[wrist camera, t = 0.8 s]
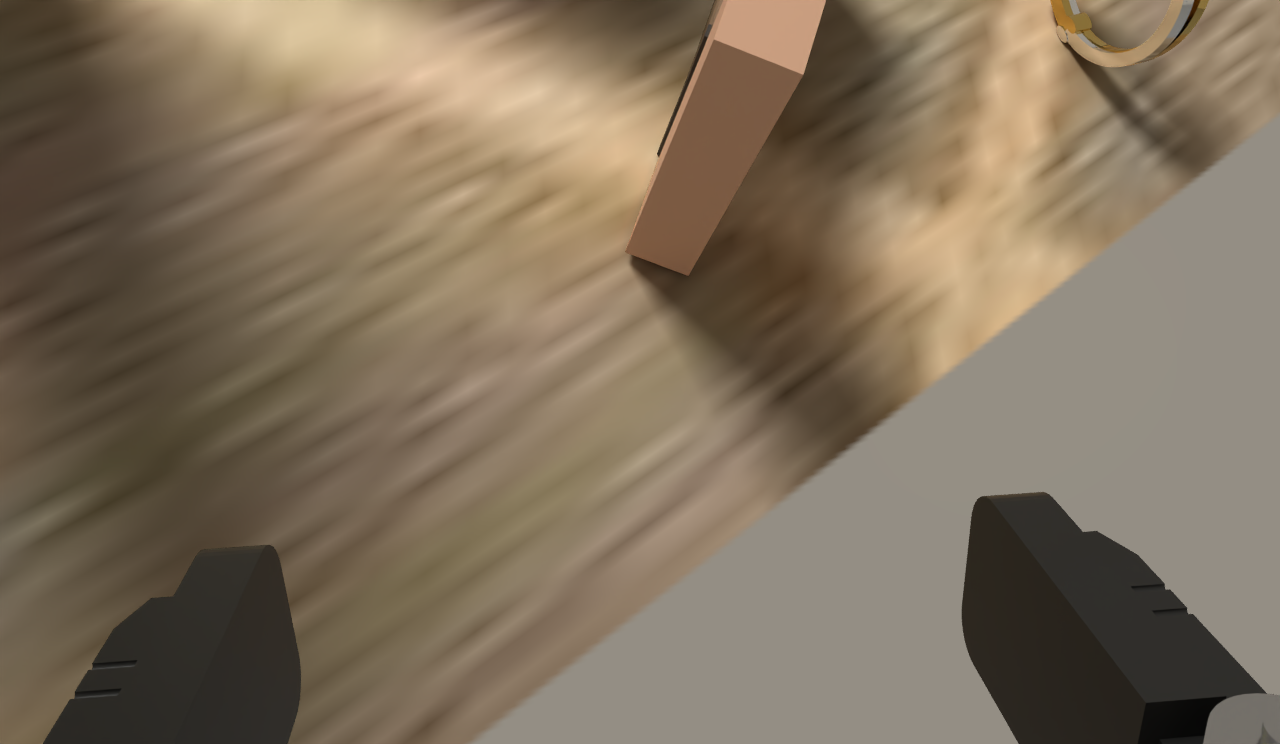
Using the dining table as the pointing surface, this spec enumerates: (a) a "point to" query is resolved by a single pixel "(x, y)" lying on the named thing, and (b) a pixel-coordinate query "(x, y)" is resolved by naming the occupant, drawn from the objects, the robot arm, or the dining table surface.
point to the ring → (1076, 31)
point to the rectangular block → (723, 124)
